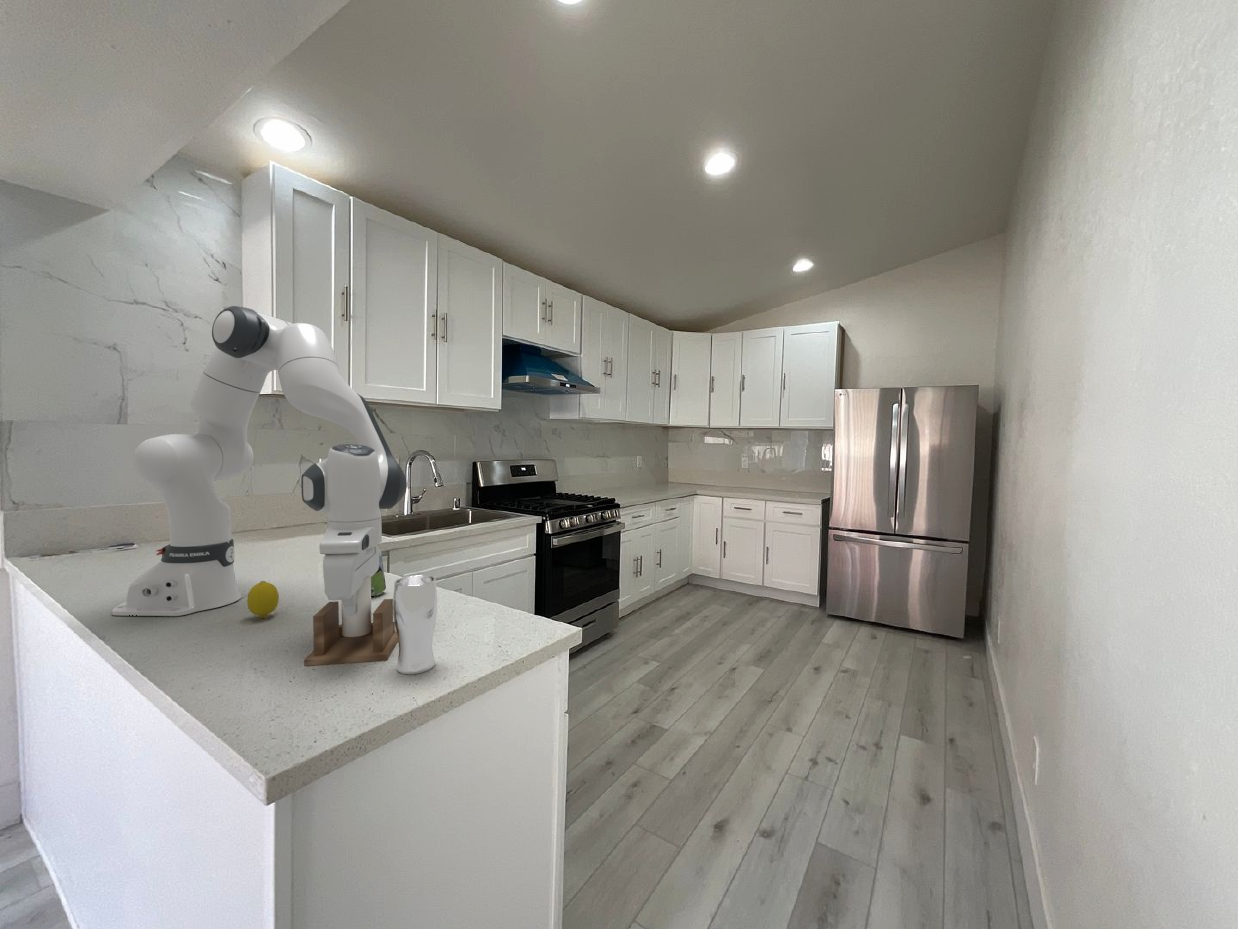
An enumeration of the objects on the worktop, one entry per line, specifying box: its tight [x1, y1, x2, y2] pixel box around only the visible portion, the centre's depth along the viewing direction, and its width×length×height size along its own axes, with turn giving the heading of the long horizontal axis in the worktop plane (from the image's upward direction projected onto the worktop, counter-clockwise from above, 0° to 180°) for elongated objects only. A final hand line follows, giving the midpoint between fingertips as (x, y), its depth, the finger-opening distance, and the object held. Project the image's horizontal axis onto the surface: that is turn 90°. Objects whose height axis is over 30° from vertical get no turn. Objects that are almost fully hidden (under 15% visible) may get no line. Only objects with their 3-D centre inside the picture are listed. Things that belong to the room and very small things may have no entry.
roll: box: [341, 576, 372, 637], centre depth 94 cm, size 5×5×10 cm
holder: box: [303, 598, 399, 666], centre depth 94 cm, size 13×11×8 cm
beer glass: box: [392, 574, 438, 675], centre depth 88 cm, size 7×7×15 cm
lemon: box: [246, 580, 280, 619], centre depth 110 cm, size 6×6×8 cm
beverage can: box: [371, 549, 387, 597], centre depth 126 cm, size 6×7×12 cm
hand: (356, 609), depth 94 cm, fingers closed on roll, 5 cm apart
